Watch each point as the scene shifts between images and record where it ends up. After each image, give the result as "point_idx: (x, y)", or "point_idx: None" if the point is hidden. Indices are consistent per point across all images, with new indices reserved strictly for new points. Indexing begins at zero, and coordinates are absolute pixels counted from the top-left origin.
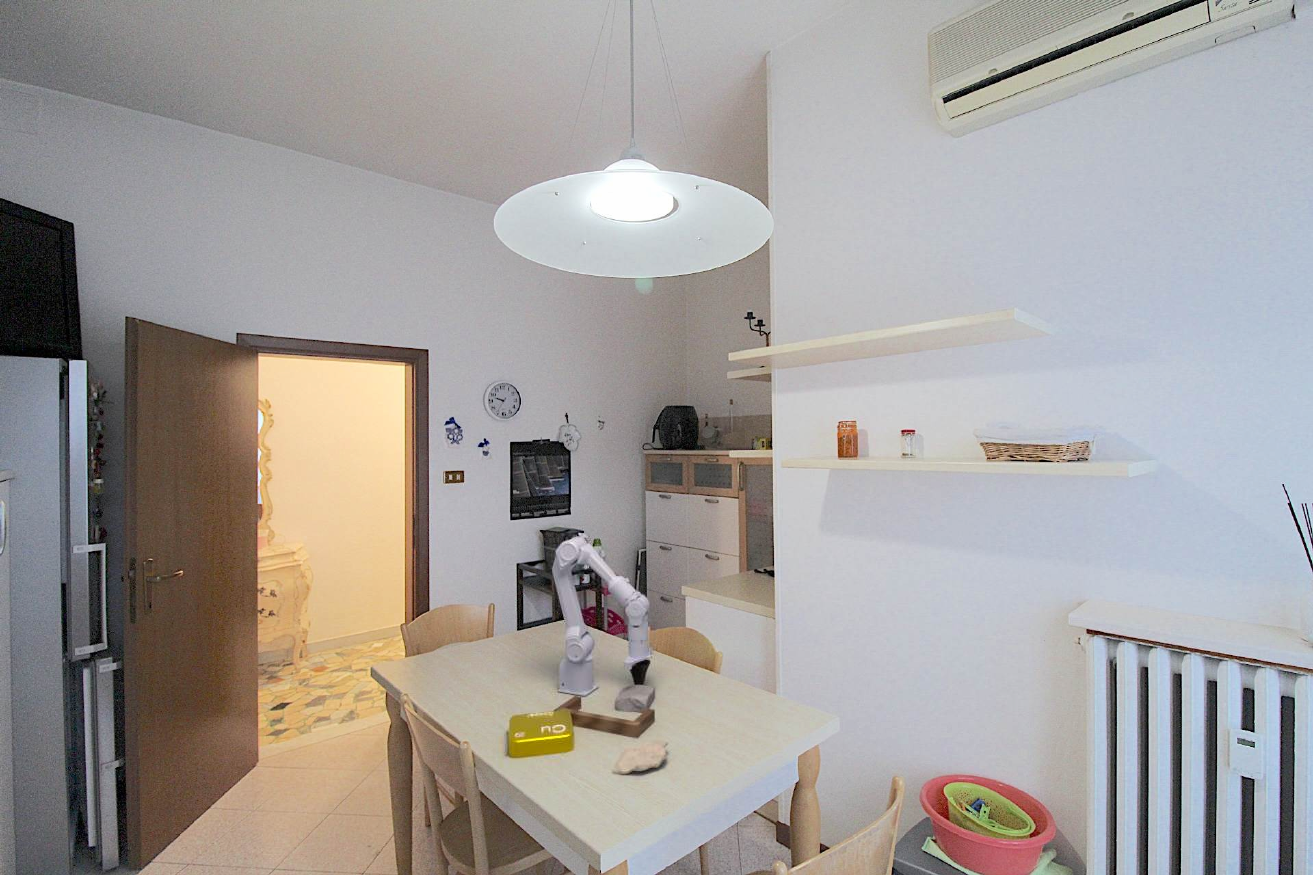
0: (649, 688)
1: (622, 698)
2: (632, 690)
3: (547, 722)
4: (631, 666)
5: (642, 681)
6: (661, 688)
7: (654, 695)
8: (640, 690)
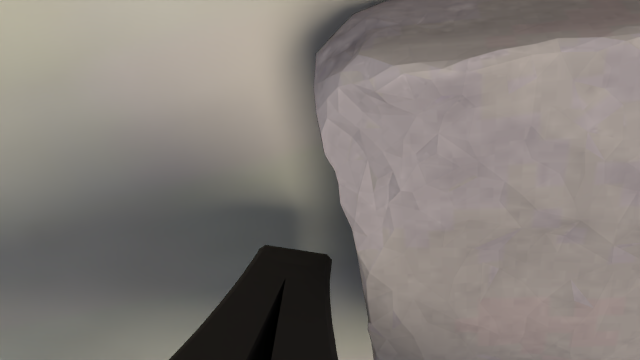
0: (510, 135)
1: None
2: (622, 352)
3: None
4: None
5: (317, 317)
6: (23, 7)
7: (419, 1)
8: (634, 256)
